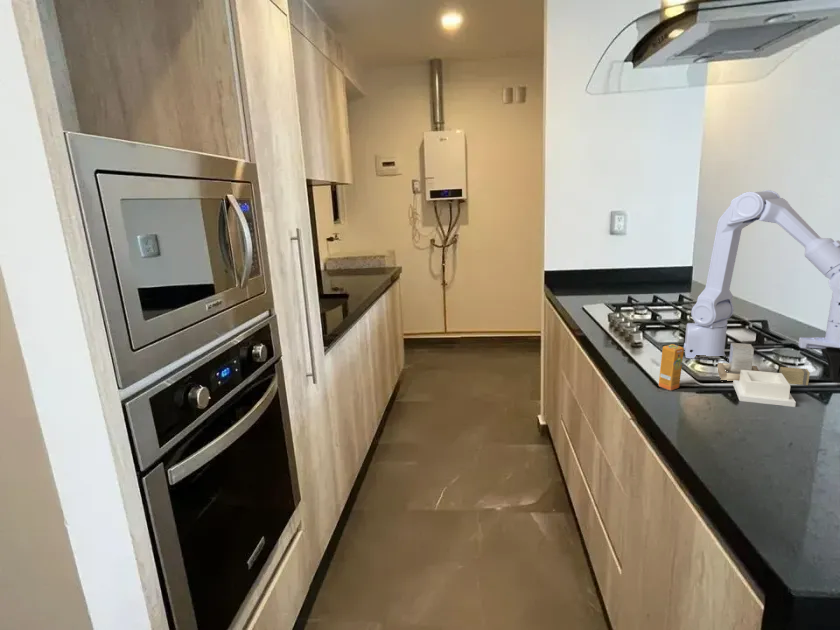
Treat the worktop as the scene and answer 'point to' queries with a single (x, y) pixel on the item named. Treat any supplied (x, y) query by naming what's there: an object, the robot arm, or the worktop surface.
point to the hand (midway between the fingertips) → (835, 380)
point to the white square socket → (763, 388)
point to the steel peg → (740, 357)
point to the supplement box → (671, 367)
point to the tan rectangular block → (795, 375)
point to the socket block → (729, 376)
